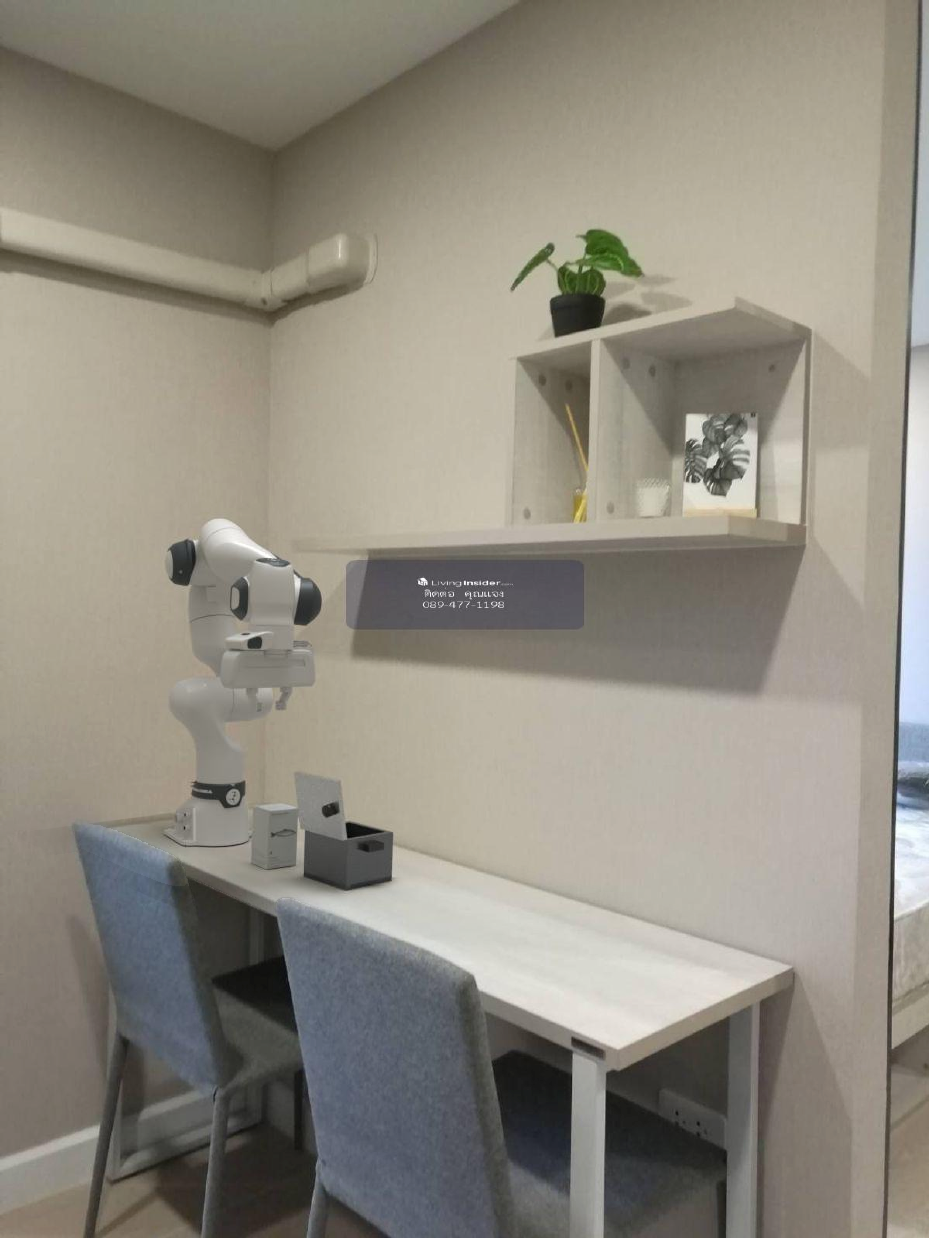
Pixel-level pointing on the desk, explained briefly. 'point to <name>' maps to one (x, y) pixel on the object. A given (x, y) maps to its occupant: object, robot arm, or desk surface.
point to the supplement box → (274, 835)
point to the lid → (320, 805)
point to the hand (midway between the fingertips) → (268, 710)
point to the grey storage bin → (350, 857)
